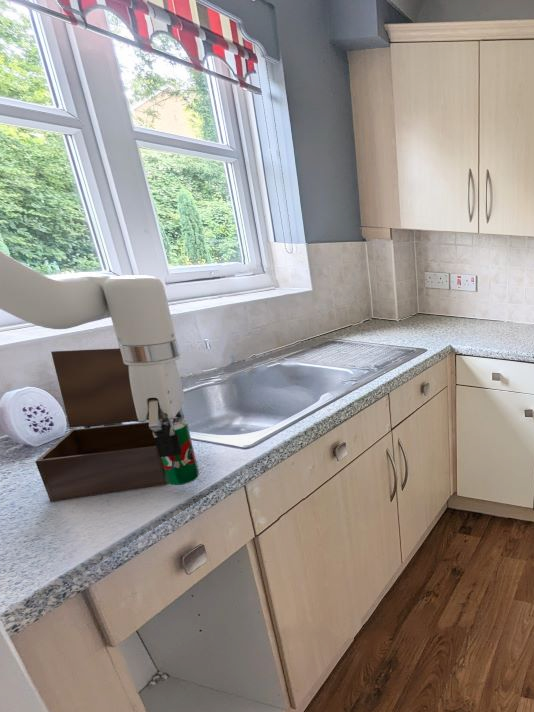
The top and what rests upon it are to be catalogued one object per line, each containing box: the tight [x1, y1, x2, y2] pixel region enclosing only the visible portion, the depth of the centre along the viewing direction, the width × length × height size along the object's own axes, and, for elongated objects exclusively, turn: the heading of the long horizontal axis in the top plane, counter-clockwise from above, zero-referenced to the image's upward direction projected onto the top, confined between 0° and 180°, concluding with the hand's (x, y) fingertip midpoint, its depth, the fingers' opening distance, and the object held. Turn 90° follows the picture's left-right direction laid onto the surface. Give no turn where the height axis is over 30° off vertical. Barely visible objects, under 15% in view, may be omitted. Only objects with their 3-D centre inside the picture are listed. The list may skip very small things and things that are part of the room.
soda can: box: [152, 417, 200, 486], centre depth 83 cm, size 5×5×12 cm
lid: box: [50, 347, 163, 429], centre depth 91 cm, size 15×17×1 cm
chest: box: [34, 421, 169, 502], centre depth 89 cm, size 14×17×8 cm
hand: (174, 447), depth 82 cm, fingers closed on soda can, 5 cm apart
